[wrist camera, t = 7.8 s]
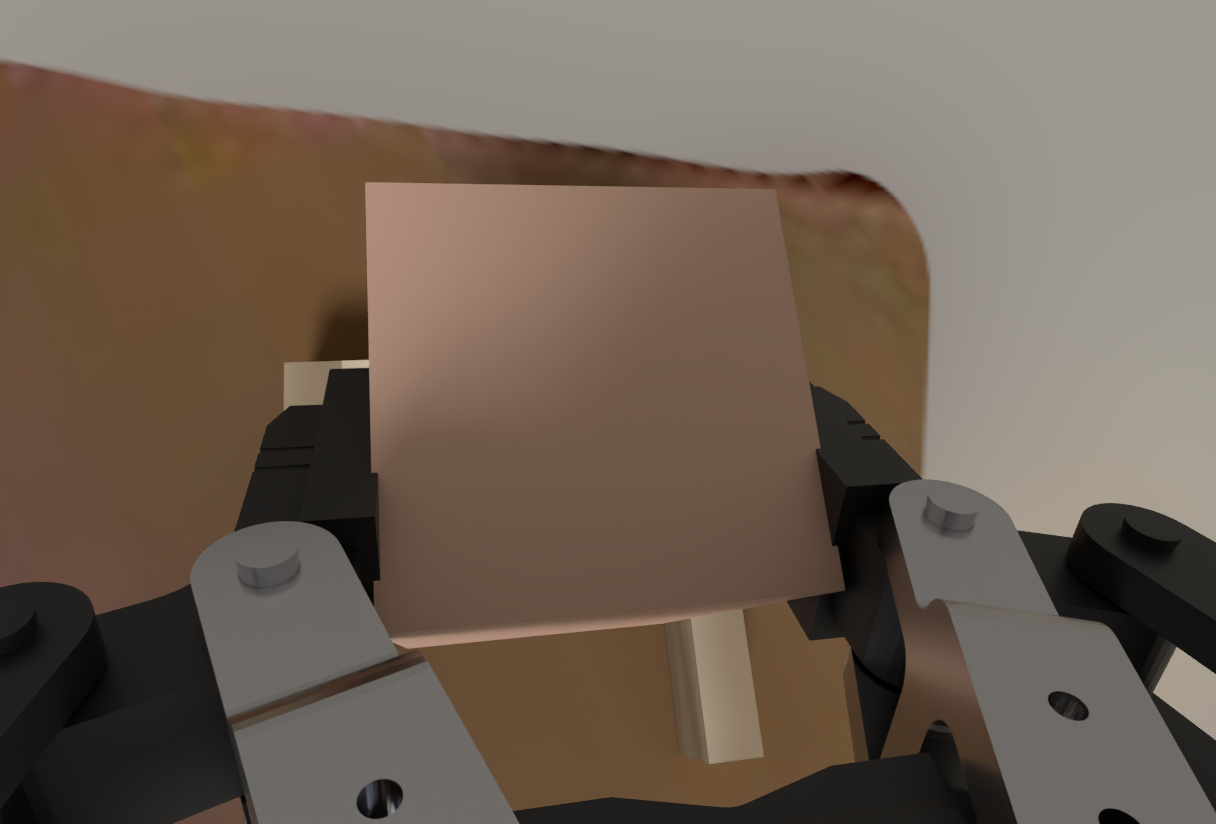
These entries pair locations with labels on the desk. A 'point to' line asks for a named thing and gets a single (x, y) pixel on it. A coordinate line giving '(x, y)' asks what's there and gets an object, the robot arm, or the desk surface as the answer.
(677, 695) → the maple bay
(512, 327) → the terracotta block
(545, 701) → the desk surface
